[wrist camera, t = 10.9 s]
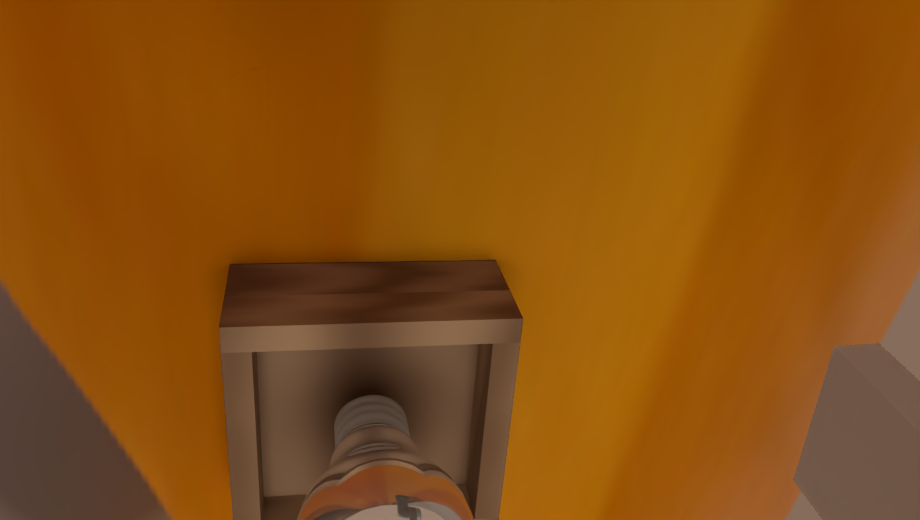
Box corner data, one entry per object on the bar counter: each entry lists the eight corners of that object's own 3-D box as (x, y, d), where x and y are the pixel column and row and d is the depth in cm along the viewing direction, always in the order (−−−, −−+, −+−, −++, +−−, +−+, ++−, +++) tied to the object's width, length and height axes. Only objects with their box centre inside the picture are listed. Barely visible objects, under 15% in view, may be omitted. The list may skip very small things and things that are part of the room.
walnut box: (495, 260, 39) (523, 318, 34) (475, 461, 44) (496, 535, 39) (230, 264, 36) (218, 327, 32) (243, 475, 42) (235, 556, 37)
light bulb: (445, 454, 40) (496, 672, 29) (303, 475, 39) (303, 708, 28) (438, 336, 36) (492, 533, 26) (283, 356, 36) (275, 568, 25)
